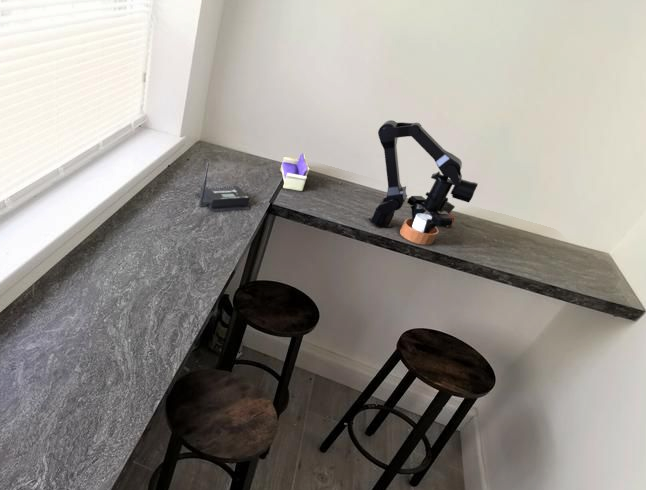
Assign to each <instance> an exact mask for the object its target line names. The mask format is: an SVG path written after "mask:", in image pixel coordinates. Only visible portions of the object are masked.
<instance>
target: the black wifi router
mask: <svg viewBox="0 0 646 490" xmlns="http://www.w3.org/2000/svg"><path fill="white" fill-rule="evenodd" d="M209 166H210V163H209V162H207V164H206V169H205V175H204V178H203V181H202V185H201V186H202V187H201V188H200V191H199V192H200V193H199V194H198V197H199V202H198V206H199V207H202V206H208V208H209V209H210V210H211V211H212V212H225V211H226V212H227V211H241V210H250V207H249V203H250V200H251V197H250V196H249V195H248V194H247V193H246V192H245V191H244V190H243V189H241V188H240V187H239V186H238V185H233V186H227V187H226V186H222V187H221V186H220V187H217V186H216V187H207V178H208V171H209V168H210V167H209Z"/></svg>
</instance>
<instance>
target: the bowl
mask: <svg viewBox="0 0 646 490" xmlns="http://www.w3.org/2000/svg"><path fill="white" fill-rule="evenodd" d="M412 225H413V221H412V217H408V218H405V220H404V221H403V222H402V225H401V227H400V229H399V234H400V235H401V237H402V238H404V239H406V240H407V241H409V242H412V243H413V244H414V243H415V244H417V245H424V246H429V245H432V244H433V243H434V242H435V240H436V238H437V236H438V234H439V232H440V230H439V228H438V227H437V226H436V227H434V228H433V229H432V230H431V231H430V232H429V233H423V232H419V231H417V230H414V229H413V228H411V227H412Z"/></svg>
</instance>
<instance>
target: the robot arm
mask: <svg viewBox="0 0 646 490" xmlns="http://www.w3.org/2000/svg"><path fill="white" fill-rule="evenodd" d="M377 134H378V139H379V142H380V144H381V146H382V148H383V151H384V161H385V170H386V179H387V180H386V181H387V192H386V197H383V198H382V199H381V200H380V201H379V204H378V205H377V207H376V209H375V211H374V213H373V215H372V217H369V218H368V220H369V221H370V222H371V223H372V224H373V225H374V226H375V227H376V228H392V225H391V222H392V220H393V218H394V216H395V212H396V211H398V210H400V209H402V207H403V206H404V203H405V201H406V199H407V198H408V199H407V201H406V203H407V204H408V205H410V208H411V209H410V210H411V218H412V221H413V222H414V220H415V217H416V214H418V213H424V214H425V213H426V212H427V213H428V215H430V216H433V217H432V219H427V222H426V225H425V228H424V232H423V233H429V232H430V231H431V230H432V229H433V228H434V227H437V226H438V227H446V226H451V224H452V222H453V219H452V218H451V217H450V216H449V215H447V214H451V212H452V211H453V210H454V209H455V207H456V206H455V205H454V204H453V203H451V202H449V198H448V197H447V196H448V194H449V192H450V195H451V198H453V199H456V200H459V201H462V202H466V203H467V204H468V203H470V202H471V200H472V199H473V197H474V195H475V194H474V193H475V192H476V190H477V188H478V185H479V184H478V182H473V181H469V180H466V179H463V175H462V171H461V170H462V167H463V163H462V160H461V159H460V158H459V157H458V156H456V155H454V154H453V153H451V152H449V151H448V150H446V149H445V148H443V147H442V146H441V145H440V144H439V143H438V142H437V140H435V139H434V138H433V137H432V135H431V134H429V132H427V130H426V129H425V128H424V127H423V125H422V124H421V123H420V122H403V121H402V122H396V121H395V120H393V119H391V120H390V119H389V120H387V121H385V122H384V123H382V124H381V126H380V127H379V129H378V131H377ZM405 137H411V138H412V139H413V140H415V142H416V143H417V144H418V145H419V146H420V147H422V149H423V150H424V151H425V152H426V153H427V154H428V155H429V156H430V157H431V158H432V159H433V160H434V162H435V164H436V166H437V168H438V170H439V171H437V172H434V173H432V174H431V177H430V179H432V180H434V182H433V183H432V186H431V188H430V191H429V192H428V191H427V192H426V193H425V196H426V198H425V197H424V196H422V195H411V196H409V197H408V194H407V185H405V186H403V185H402V184H401V178H400V168H399V167H400V166H399V157H398V147H397V144H398V139H399V138H405ZM438 211H440V212H443V211H444V212H446V213H444V212H443V213H441V214H439V213H438ZM453 223H454V222H453ZM452 225H453V224H452ZM451 227H452V226H451Z"/></svg>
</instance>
